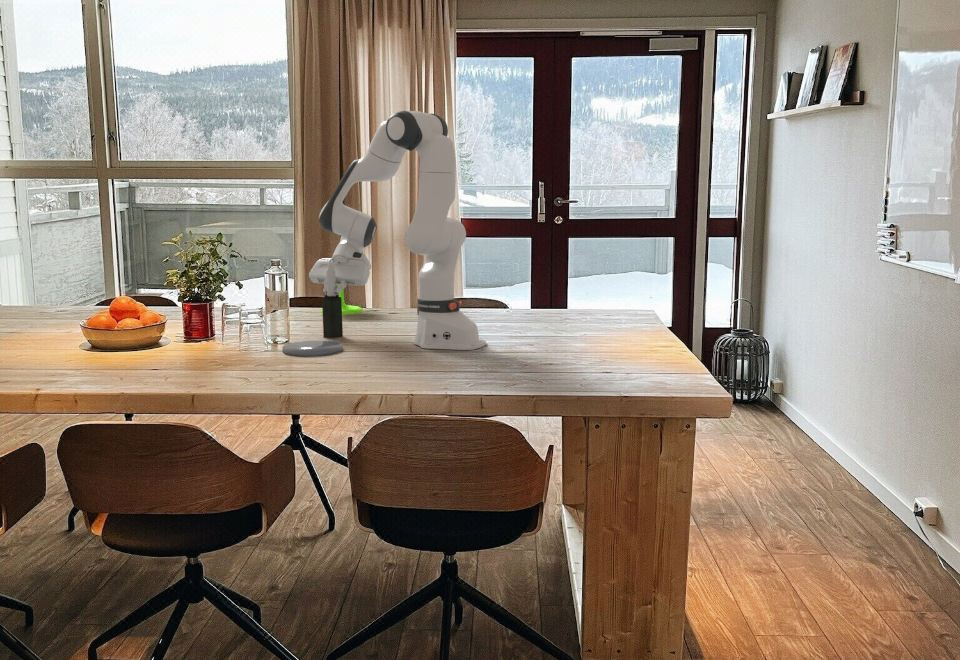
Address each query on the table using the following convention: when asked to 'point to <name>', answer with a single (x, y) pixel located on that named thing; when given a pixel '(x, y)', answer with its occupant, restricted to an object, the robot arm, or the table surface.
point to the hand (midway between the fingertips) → (331, 292)
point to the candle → (331, 307)
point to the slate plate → (312, 348)
